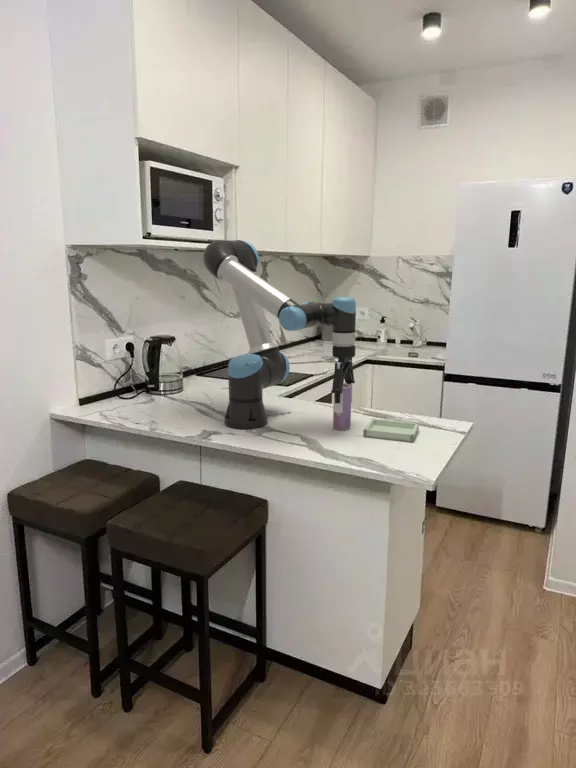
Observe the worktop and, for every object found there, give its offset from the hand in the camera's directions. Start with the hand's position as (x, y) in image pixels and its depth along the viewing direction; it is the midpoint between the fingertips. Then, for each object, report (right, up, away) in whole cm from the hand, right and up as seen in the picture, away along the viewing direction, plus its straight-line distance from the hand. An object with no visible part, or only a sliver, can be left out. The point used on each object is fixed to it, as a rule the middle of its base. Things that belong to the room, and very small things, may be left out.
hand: (343, 407), depth 187 cm
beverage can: (0, -7, +2) cm, 8 cm away
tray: (+16, -9, -4) cm, 18 cm away
